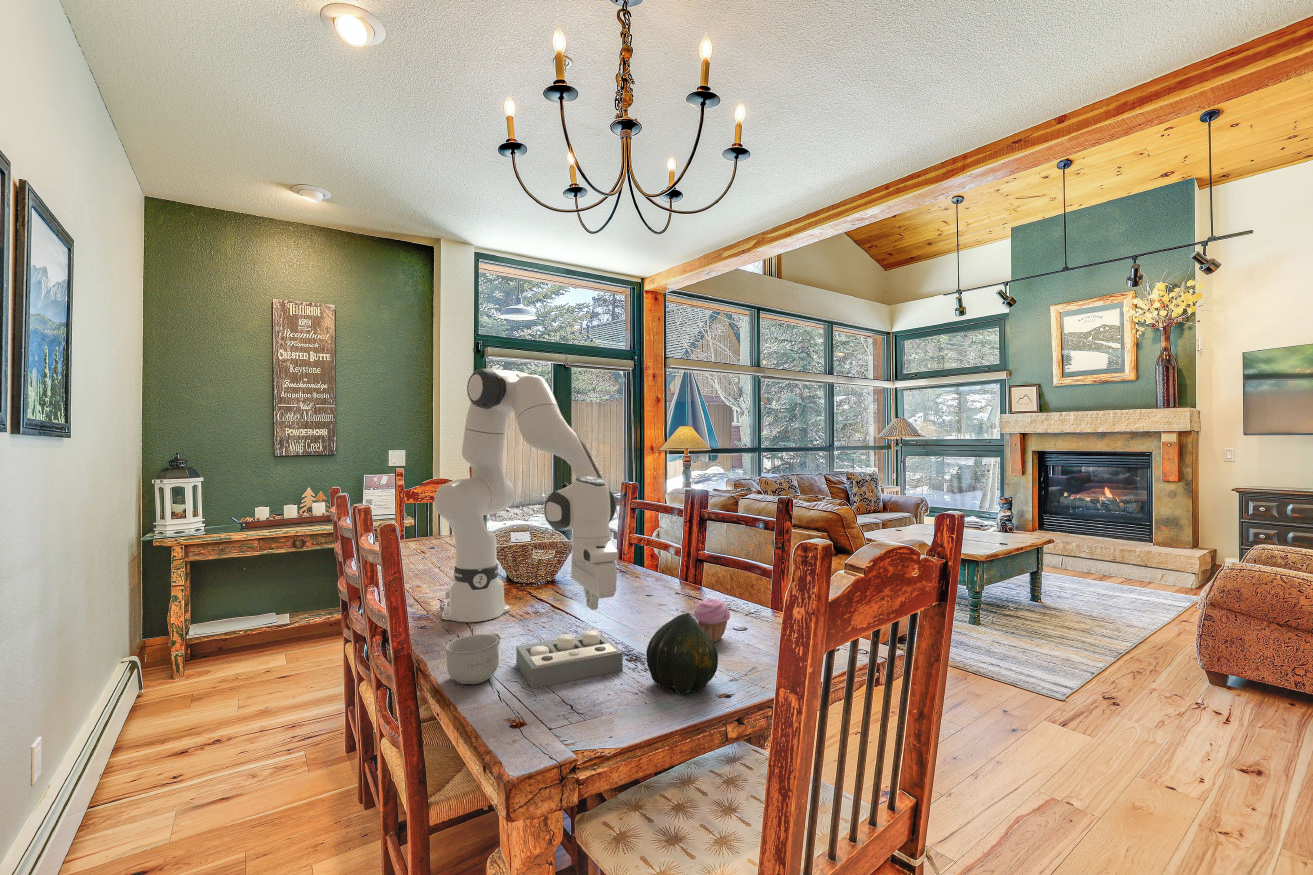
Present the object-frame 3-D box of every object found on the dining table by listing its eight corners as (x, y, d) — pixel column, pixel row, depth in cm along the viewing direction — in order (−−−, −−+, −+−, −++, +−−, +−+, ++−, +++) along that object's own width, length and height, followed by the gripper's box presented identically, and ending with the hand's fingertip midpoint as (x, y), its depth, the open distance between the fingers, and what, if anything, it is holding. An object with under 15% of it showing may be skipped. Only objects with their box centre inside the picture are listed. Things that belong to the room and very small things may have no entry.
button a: (528, 661, 130) (528, 647, 130) (546, 657, 132) (546, 644, 132) (533, 667, 127) (533, 653, 127) (551, 664, 129) (551, 650, 129)
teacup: (469, 694, 117) (469, 654, 117) (434, 682, 123) (434, 644, 123) (520, 670, 129) (520, 634, 129) (486, 660, 134) (485, 625, 134)
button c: (579, 644, 136) (579, 631, 136) (596, 642, 137) (596, 629, 137) (585, 650, 132) (585, 637, 132) (602, 647, 134) (602, 634, 134)
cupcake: (687, 638, 148) (687, 599, 148) (708, 630, 154) (709, 592, 154) (716, 647, 142) (716, 606, 142) (736, 638, 148) (736, 599, 148)
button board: (516, 663, 132) (516, 644, 132) (599, 649, 141) (599, 630, 141) (532, 688, 120) (532, 666, 120) (622, 670, 129) (622, 650, 128)
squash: (651, 681, 110) (697, 614, 115) (623, 656, 124) (665, 597, 128) (702, 720, 114) (744, 655, 119) (669, 692, 128) (709, 634, 132)
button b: (554, 649, 133) (554, 635, 133) (571, 646, 135) (571, 633, 135) (560, 655, 129) (560, 641, 129) (577, 652, 131) (577, 638, 131)
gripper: (564, 541, 142) (565, 598, 142) (594, 557, 124) (594, 622, 124) (588, 539, 145) (589, 595, 145) (621, 554, 127) (622, 617, 127)
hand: (592, 607), depth 134 cm, fingers closed
